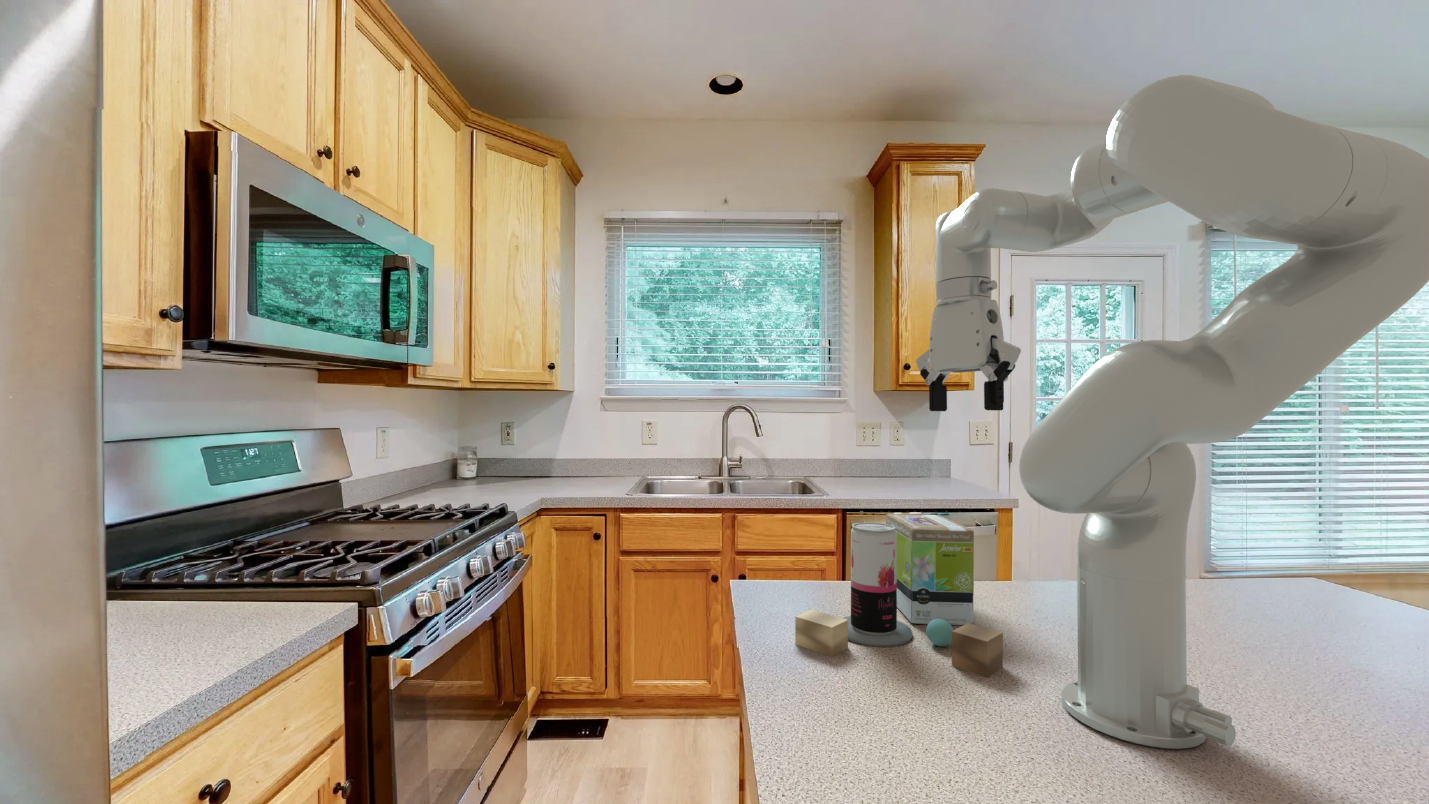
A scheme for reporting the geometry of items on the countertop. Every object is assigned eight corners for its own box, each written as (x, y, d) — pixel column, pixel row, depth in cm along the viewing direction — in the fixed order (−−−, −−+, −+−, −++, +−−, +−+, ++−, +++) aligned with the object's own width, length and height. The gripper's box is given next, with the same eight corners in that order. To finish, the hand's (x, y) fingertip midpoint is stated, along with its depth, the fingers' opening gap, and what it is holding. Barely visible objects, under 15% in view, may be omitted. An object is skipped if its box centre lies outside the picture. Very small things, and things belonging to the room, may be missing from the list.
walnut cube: (1002, 668, 75) (1002, 632, 75) (987, 678, 72) (987, 641, 72) (968, 656, 78) (968, 623, 78) (951, 666, 75) (951, 631, 75)
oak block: (848, 648, 81) (847, 619, 81) (832, 657, 78) (832, 627, 78) (811, 637, 85) (811, 609, 85) (795, 645, 82) (795, 616, 82)
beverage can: (899, 637, 83) (899, 531, 83) (852, 634, 84) (852, 529, 84) (893, 621, 89) (893, 523, 90) (849, 619, 90) (849, 521, 91)
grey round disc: (928, 638, 84) (928, 634, 84) (869, 652, 79) (869, 647, 79) (875, 614, 94) (875, 611, 94) (820, 625, 89) (820, 621, 89)
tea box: (976, 626, 89) (976, 529, 90) (910, 625, 90) (910, 528, 90) (940, 595, 104) (940, 512, 105) (883, 595, 105) (883, 512, 105)
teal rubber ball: (959, 647, 81) (959, 621, 81) (940, 652, 79) (940, 625, 80) (939, 638, 84) (939, 613, 84) (920, 643, 83) (920, 617, 83)
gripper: (1034, 286, 81) (1036, 410, 80) (934, 307, 96) (935, 411, 96) (998, 280, 77) (1000, 409, 77) (901, 303, 93) (902, 411, 92)
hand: (964, 410), depth 86 cm, fingers open, 9 cm apart
